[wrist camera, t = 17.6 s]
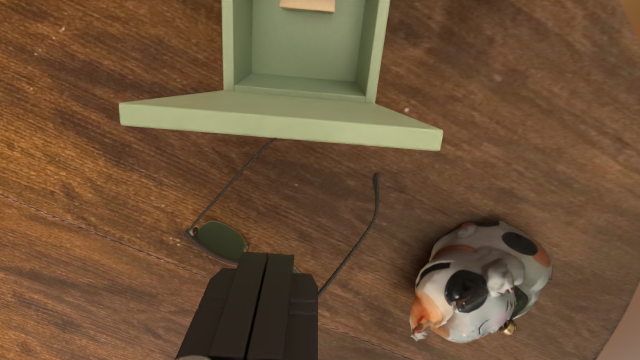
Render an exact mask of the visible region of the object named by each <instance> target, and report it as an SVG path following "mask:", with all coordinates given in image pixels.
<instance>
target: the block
mask: <svg viewBox="0 0 640 360" xmlns="http://www.w3.org/2000/svg"><path fill="white" fill-rule="evenodd" d="M335 4H336V0H279V7H280V8H282V9H284V10H291V11H301V12H312V13H323V14H333V13H334V12H335Z"/></svg>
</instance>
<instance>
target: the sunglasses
mask: <svg viewBox="0 0 640 360" xmlns="http://www.w3.org/2000/svg"><path fill="white" fill-rule="evenodd" d="M276 139H277V138H273V139H272V140H271V141H269V142H268V143H267V144H266V145H265V146H264V147H263V148H262V149H261V150H260V151H259V152H258V153H257V154H256V155H255V156H254V157H253V158H252V159H251V160H250V161H249V162H248V163H247V164H246V165H245V166H244V167H243V168H242V169H241V170H240V171H239V172H238V174H237V175H236V176H235V177H234V178H233V179H232V180H231V181H230V182H229V184H228V185H227V186H226V187H225V188H224V189H223V190H222V191H221V192H220V194H219V195H218V196H217V197H216V198H215V199H214V200H213V201H212V202H211V204H210V205H209V206H208V207H207V208H206V209H205V210H204V211H203V213H202V214H201V215H200V216H199V217H198V218H197V219H196V221H195V222H194V223H193V224H192V225H191V226H190V227H189V229H187V230H186V232H185V233H184V235H185V236H186V237H187V238H188V239H189V240H190V241H191V242H192V243H194V244H195V245H196V246H197V247H199V248H200V249H201V250H203V251H204V252H206V253H208V254H209V255H211V256H213V257H214V258H216V259H219V260H221V261H223V262H226V263H229V264H232V265H237V266H238V264H239V261H240V258H241V255H242V253H243V252H246V249H247V252H248V250H249V244H247V248H246V242H245V240H244V238H243V237H242V235H241V234H240V233H239V232H237V231H236V230H235V229H233V228H231V227H230V226H228V225H226V224H224V223H221V222H218V221H209V222H206V223H205V224H203V225H202V226H201V227H199V229H198V228H197V227H195V228H194V229H192V228H193V227H194V226H195V225H196V223H197V222H198V221H199V220H200V219H201V217H202V216H203V215H204V214H205V213H206V212H207V211H208V210H209V208H210V207H211V206H212V205H213V204H214V203H215V202H216V201H217V199H218V198H219V197H220V196H221V195H222V194H223V193H224V192H225V191H226V189H227V188H228V187H229V186H230V185H231V184H232V183H233V182H234V181H235V180H236V179H237V177H238V176H239V175H240V174H241V173H242V172H243V171H244V170H245V169H246V168H247V167H248V165H249V164H250V163H251V162H252V161H253V160H254V159H255V158H256V157H257V156H258V155H259V154H260V153H261V152H262V151H263V150H264V149H265V148H266V147H267V146H268V145H270V144H271V143H272V142H273V141H274V140H276ZM373 185H374V190H375V213H374V216H373V219H372V221H371V223H370V225H369V226H368V228H367V230H366V231H365V233H364V234H363V235H362V237H361V238H360V240H359V241H358V242H357V244H356V245H355V246H354V248H353V249H352V250H351V252H350V253H349V254H348V256H347V257H346V258H345V259H344V261H343V262H342V263H341V264H340V266H339V267H338V268H337V269H336V271H335V272H334V273H333V274H332V276H331V277H330V278H329V279H328V280H327V282H326V283H325V284H324V285H323V287H322V288H321V289H320V290H319V291H318V298H319V297H320V296H321V294H322V293H323V292H324V291H325V289H326V288H327V287H328V286H329V284H330V283H331V282H332V281H333V279H334V278H335V277H336V276H337V274H338V273H339V272H340V270H341V269H342V268H343V266H344V265H345V264H346V263H347V261H348V260H349V259H350V257H351V256H352V255H353V253H354V252H355V251H356V249H357V248H358V247H359V245H360V244H361V243H362V241H363V240H364V238H365V237H366V235H367V234H368V232H369V231H370V229H371V227H372V225H373V224H374V222H375V219H376V217H377V214H378V209H379V179H378V173H375V175H374V177H373ZM293 273H300V272H299V271H298V270H297V269H296V268H295V267H293Z"/></svg>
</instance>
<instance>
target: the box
mask: <svg viewBox="0 0 640 360" xmlns="http://www.w3.org/2000/svg"><path fill="white" fill-rule="evenodd" d="M389 5H390V0H336V4H335V12H334V13H333V14H323V13H312V12H301V11H291V10H284V9H282V8H280V7H279V0H222V42H223V86H224V91H235V92H247V93H258V94H270V95H281V96H293V97H304V98H316V99H327V100H339V101H350V102H362V103H373V104H375V99H376V92H377V86H378V79H379V72H380V65H381V59H382V52H383V45H384V39H385V32H386V25H387V19H388V12H389Z"/></svg>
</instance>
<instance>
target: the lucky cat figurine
mask: <svg viewBox="0 0 640 360" xmlns="http://www.w3.org/2000/svg"><path fill="white" fill-rule="evenodd" d="M552 273H553V265H552V261H551V259H550V257H549V255H548V254H547V252H546V251H545V249H544V248H543V247H542V246H541V245H540V244H539V243H538V242H537V241H536V240H535V239H533V238H532V237H531V236H529V235H528V234H526V233H524V232H522V231H520V230H518V229H516V228H514V227H512V226H510V225H508V224H506V223H505V222H502V221H495V222H492V223H488V224H486V223H478V222H469V223H464V224H463V225H462V226H460V227H459V228H457V229H456V230H454V231H452V232H451V233H449V234H447V235H445V236H443V237H442V238H441V239H439V240H438V241H437V242H436V243H435V245H434V246H433V250H432V253H431V258H430V262H429V263H427V264H426V265H425V267H424V268H423V269H421V271H420V273H419V275H418V277H417V279H416V285H415V291H416V298H415V300H414V302H413V304H412V306H411V309H410V317H409V322H410V325H411V337H413V338H414V339H415V341H417V339H418V340H419V339H425V338H426V336H427V335H428V334H429V329H430V330H432V331H434V332H435V333H437V334H438V335H440V336H442V337H444V338H446V339H447V340H449V341H453V342H458V343H466V342H470V341H474V340H475V339H479V338H480V337H482V338H483V337H484V336H486V335H487V334H488V333H493V332H495V331H497V330H498V329H499V330H500V331H501V332H502V333H503V334H505V335H508V336H510V335H512V334H513V333H514V332H515V331H516V329H517V325H516V324H515V322H514V321H513V319H515V318H517V317H519V316H521V315H523V314H525V313H526V312H527V311H528V310H530V309H531V307H532V306H533V304H534V302H535V301H536V300H537V299H538V296H539V294H540V290H541V288H542V287H544V285H545V284H547V283H548V282H550V281H551V280H552Z"/></svg>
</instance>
